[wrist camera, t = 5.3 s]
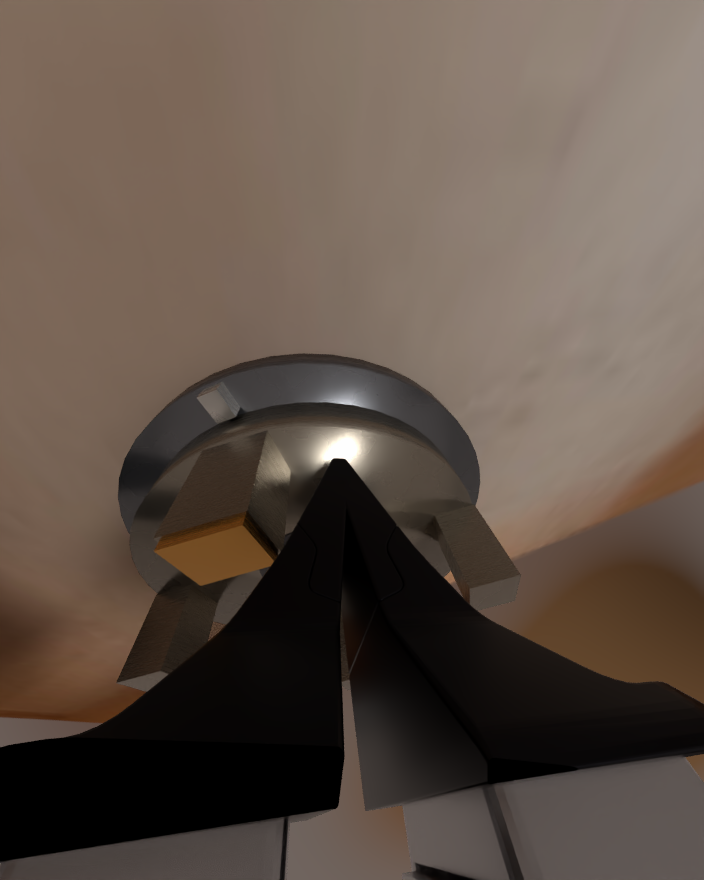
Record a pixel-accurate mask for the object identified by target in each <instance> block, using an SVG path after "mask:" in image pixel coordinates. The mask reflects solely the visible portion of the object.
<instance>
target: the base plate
mask: <svg viewBox="0 0 704 880" xmlns="http://www.w3.org/2000/svg"><path fill="white" fill-rule="evenodd" d="M299 402H330V403H339V404H348V405H355V406H359V407H363V408H367V409H372V410H376V411H379V412H382V413H384V414H387V415H389V416H392V417H395V418H397V419H399V420H401V421H403V422H405V423H407V424H408V425H410V426H412V427H414V428H416V429H417V430H418V431H420V432H421V433H422V434H424V435H425V436H426V437H427V438H429V439H430V440H431V441H432V442H433V443H434V444H435V445H436V446H437V447H438V449H439V450H440V451H441V452H442V453H443V455H444V456H445V458H446V459H447V461H448V462H449V464H450V465H451V467H452V468H453V469H454V471H455V472H456V474H457V475H458V477H459V478H460V480H461V482H462V483H463V485H464V486H465V488H466V490H467V491H468V493H469V496H470V499H471V502H472V505H476V502H477V499H478V493H479V486H480V472H479V464H478V460H477V456H476V452H475V450H474V448H473V445H472V443H471V441H470V439H469V437H468V435H467V434H466V432H465V431H464V430H463V428H462V427H461V425H460V424H459V423H458V421H457V420H456V419H455V418H454V417H453V416H452V414H451V413H450V412H449V411H448V410H447V409H446V408H445V407H444V406H443V405H442V404H441V403H440V402H439V401H438V400H437V399H436V398H435V397H434V396H433V395H432V394H431V393H430V392H429V391H427V390H426V389H424V388H423V387H421V386H420V385H418V384H417V383H415V382H414V381H413V380H411V379H409V378H407V377H405V376H403V375H401V374H399V373H397V372H395V371H393V370H391V369H389V368H386V367H383V366H380V365H376V364H373V363H370V362H367V361H364V360H360V359H354V358H348V357H342V356H337V355H326V354H292V355H281V356H270V357H266V358H262V359H257V360H253V361H249V362H244V363H240V364H238V365H235V366H232V367H230V368H227V369H224V370H222V371H219V372H217V373H214V374H212V375H210V376H208V377H206V378H205V379H203V380H201V381H199V382H198V383H196V384H194V385H192V386H190V387H189V388H187V389H186V390H185V391H184V392H182V393H181V394H180V395H179V396H177V397H176V398H175V399H174V400H172V401H171V402H170V403H169V404H168V405H167V406H166V407H165V408H164V409H163V410H162V411H161V412H160V413H159V414H158V415H157V416H156V417H155V418H154V419H153V420H152V421H151V422H150V423H149V425H148V426H147V427H146V428H145V429H144V430H143V432H142V433H141V434H140V435H139V436H138V437H137V438H136V440H135V442H134V443H133V445H132V447H131V449H130V451H129V452H128V454H127V456H126V458H125V460H124V464H123V467H122V470H121V474H120V477H119V490H118V500H119V505H120V511H121V516H122V518H123V521H124V523H125V526H126V528H127V530H128V532H129V534H130V529H131V526H132V522H133V519H134V516H135V513H136V511H137V510H138V508H139V506H140V505H141V503H142V501H143V500H144V498H145V496H146V495H147V494H148V492H149V491H150V489H151V488H152V486H153V485H154V483H155V482H156V480H157V479H158V478H159V476H160V475H161V473H162V472H163V470H164V469H165V467H166V466H167V465H168V463H169V462H170V461H171V460H172V459H173V457H174V456H175V455H176V454H177V453H178V452H179V451H180V450H181V449H182V448H183V447H184V446H185V445H187V444H188V443H189V442H190V441H192V440H193V439H194V438H196V437H197V436H198V435H199V434H201V433H203V432H204V431H206V430H208V429H210V428H212V427H213V426H215V425H217V424H219V423H221V422H224V421H227V420H229V419H232V418H234V417H236V416H238V415H241V414H243V413H246V412H250V411H254V410H258V409H262V408H266V407H270V406H275V405H283V404H291V403H299Z"/></svg>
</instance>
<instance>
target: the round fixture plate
mask: <svg viewBox="0 0 704 880" xmlns="http://www.w3.org/2000/svg"><path fill="white" fill-rule="evenodd" d="M333 458H345V459H346V460H347V461H348V462H349V464H350V465H351V466H352V467H353V469H354V470H355V471H356V473H357V474H358V475H359V476H360V478H361V479H362V480H363V481H364V483H365V484H366V485H367V487H368V488H369V489H370V490H371V492H372V493H373V494H374V496H375V497H376V498H377V499H378V501H379V502H380V503H381V505H382V506H383V507H384V508H385V510H386V511H387V512H388V514H389V515H390V516H391V517H392V519H393V520H394V521H395V523H396V524H397V526H399V528H400V529H401V530H402V531H403V533H404V534H405V535H406V536H407V538H408V539H409V540H410V541H411V542H412V544H413V545H414V546H415V547H416V548H417V550H418V551H419V552H420V553H421V554H422V555H423V556H424V557H425V558H426V559H427V561H428V562H429V563H430V564H431V565H432V566H433V567H434V568H435V569H436V570H437V571H438V572H439V573H440V574H441V575H442V576H443V577H445V576H446V575H447V574H448V573H449V572H450V570H451V572H452V574H453V576H454V578H455V581H456V583H457V585H458V587H459V590H460V592H461V594H462V596H463V598H464V599H465V600H466V601H467V602H468V603H469V604H470V605H471V606H472V607H473V608H475V609H476V610H477V611H478V610H482V609H486V608H489V607H493V606H497V605H501V604H505V603H509V602H512V601H515V598H516V594H517V590H518V585H519V581H520V577H521V574H520V573H519V571H518V570H517V568H516V567H515V565H514V564H513V562H512V561H511V559H510V558H509V556H508V555H507V553H506V552H505V550H504V549H503V547H502V546H501V544H500V543H499V541H498V540H497V538H496V537H495V535H494V534H493V532H492V531H491V529H490V528H489V526H488V525H487V523H486V521H485V520H484V518H483V517H482V515H481V514H480V512H479V511H478V509H477V508H476V506H475V505H472V502H471V499H470V496H469V493H468V491H467V490H466V488H465V486H464V485H463V483H462V482H461V480H460V478H459V477H458V475H457V474H456V472H455V471H454V469H453V468H452V467H451V465H450V464H449V462H448V461H447V459H446V458H445V456H444V455H443V453H442V452H441V451H440V450H439V449H438V447H437V446H436V445H435V444H434V443H433V442H432V441H431V440H430V439H429V438H427V437H426V436H425V435H424V434H422V433H421V432H420V431H418V430H417V429H416V428H414V427H412V426H410V425H408V424H407V423H405V422H403V421H401V420H399V419H397V418H395V417H392V416H389V415H387V414H384V413H382V412H379V411H376V410H372V409H367V408H363V407H359V406H355V405H348V404H339V403H330V402H299V403H291V404H283V405H275V406H270V407H266V408H262V409H258V410H254V411H250V412H246V413H243V414H241V415H238V416H236V417H234V418H232V419H229V420H227V421H224V422H221V423H219V424H217V425H215V426H213V427H212V428H210V429H208V430H206V431H204V432H203V433H201V434H199V435H198V436H197V437H196V438H194V439H193V440H192V441H190V442H189V443H188V444H187V445H185V446H184V447H183V448H182V449H181V450H180V451H179V452H178V453H177V454H176V455H175V456H174V457H173V459H172V460H171V461H170V462H169V463H168V465H167V466H166V467H165V469H164V470H163V472H162V473H161V475H160V476H159V478H158V479H157V480H156V482H155V483H154V485H153V486H152V488H151V489H150V491H149V492H148V494H147V495H146V496H145V498H144V500H143V501H142V503H141V505H140V506H139V508H138V510H137V511H136V513H135V516H134V519H133V522H132V526H131V529H130V549H131V554H132V559H133V561H134V563H135V565H136V568H137V570H138V572H139V573H140V575H141V576H142V577H143V579H144V580H145V581H146V583H147V584H148V585H149V586H150V587H151V588H152V589H153V590H154V591H155V592H157V593H158V594H157V595H156V597H155V599H154V601H153V603H152V606H151V608H150V610H149V612H148V614H147V617H146V619H145V621H144V623H143V625H142V628H141V630H140V632H139V634H138V636H137V638H136V641H135V643H134V645H133V647H132V649H131V652H130V654H129V656H128V658H127V660H126V663H125V665H124V667H123V669H122V671H121V673H120V676H119V678H118V680H117V682H116V683H118V684H121V685H125V686H128V687H132V688H135V689H139V690H142V691H146V692H147V691H148V690H150V689H151V688H152V687H153V686H155V685H156V684H157V683H158V682H159V681H161V680H162V679H163V678H164V677H166V676H167V675H168V674H169V673H170V672H172V671H173V670H174V669H175V668H176V667H178V666H179V665H180V664H181V663H183V662H184V661H185V660H186V659H187V658H189V657H190V656H191V655H192V654H194V653H195V652H196V651H197V650H198V649H200V648H201V647H202V646H203V645H204V644H206V643H207V642H208V638H209V634H210V631H211V627H212V623H213V621H214V622H217V623H222V624H227V623H228V622H229V621H230V620H231V619H232V617H233V616H234V615H235V614H236V612H237V611H238V610H239V609H240V607H241V606H242V605H243V603H244V602H245V600H246V599H247V598H248V596H249V595H250V594H251V592H252V591H253V590H254V588H255V587H256V585H257V584H258V583H259V581H260V580H261V579H262V577H263V576H264V575H265V573H266V572H267V570H268V569H269V568H270V566H271V565H272V564H273V562H274V561H275V559H276V558H277V556H278V555H279V553H280V552H281V550H282V549H283V547H284V545H285V544H286V542H287V540H288V539H289V537H290V535H291V534H292V532H293V530H294V528H295V526H296V525H297V523H298V521H299V519H300V517H301V515H302V514H303V512H304V510H305V508H306V506H307V504H308V502H309V501H310V499H311V497H312V495H313V493H314V491H315V489H316V488H317V486H318V484H319V482H320V480H321V478H322V477H323V475H324V473H325V471H326V469H327V467H328V465H329V464H330V462H331V460H332V459H333ZM340 643H341V672H342V686H343V687H345V688H346V689H347V690H351V687H350V679H349V676H350V674H349V670H348V662H347V653H346V645H345V637H344V628H343V620H342V611H341V619H340Z"/></svg>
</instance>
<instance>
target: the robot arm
mask: <svg viewBox="0 0 704 880" xmlns="http://www.w3.org/2000/svg"><path fill="white" fill-rule="evenodd" d="M341 611H342V620H343V628H344V637H345V645H346V653H347V662H348V670H349V674H350V676H349V679H350V687H351V696H352V704H353V712H354V721H355V729H356V737H357V746H358V754H359V762H360V770H361V779H362V788H363V795H364V804H365V810H366V811H369V810H375V809H382V808H388V807H395V806H401V805H402V806H403V813H404V819H405V826H406V833H407V840H408V846H409V854H410V860H411V868H412V872H408V873H403V876H402V878H403V879H402V880H704V782H703V781H702V780H701V778H700V777H699V776H698V774H697V773H696V771H695V770H694V769H693V767H692V766H691V765H690V763H689V762H688V761H687V759H686V758H685V757H688V756H694V755H700V754H704V704H703V703H701V702H699V701H698V700H696V699H694V698H692V697H690V696H688V695H687V694H685V693H683V692H681V691H679V690H678V689H676V688H674V687H672V686H670V685H669V684H667V683H664V682H658V681H657V682H643V683H629V682H628V683H627V682H624V681H620V680H615V679H612V678H610V677H607V676H604V675H601V674H599V673H596V672H594V671H592V670H590V669H588V668H585V667H583V666H581V665H579V664H577V663H575V662H573V661H571V660H569V659H567V658H565V657H563V656H561V655H559V654H557V653H555V652H553V651H551V650H549V649H547V648H545V647H543V646H541V645H539V644H537V643H535V642H533V641H531V640H529V639H527V638H525V637H523V636H521V635H519V634H517V633H515V632H513V631H511V630H509V629H507V628H505V627H503V626H501V625H499V624H497V623H495V622H493V621H491V620H490V619H488V618H486V617H485V616H484V615H482V614H481V613H479V612H478V611H477V610H476V609H475V608H473V607H472V606H471V605H470V604H469V603H468V602H467V601H466V600H465V599H464V598H463V597H462V596H461V595H460V594H459V593H458V592H457V591H456V590H455V589H454V588H453V587H452V586H451V585H450V584H449V583H448V581H447V580H446V579H445V578H444V577H443V576H442V575H441V574H440V573H439V572H438V571H437V570H436V569H435V568H434V567H433V566H432V565H431V564H430V563H429V562H428V561H427V559H426V558H425V557H424V556H423V555H422V554H421V553H420V552H419V551H418V550H417V548H416V547H415V546H414V545H413V544H412V542H411V541H410V540H409V539H408V538H407V536H406V535H405V534H404V533H403V531H402V530H401V529H400V528H399V526H397V524H396V523H395V521H394V520H393V519H392V517H391V516H390V515H389V514H388V512H387V511H386V510H385V508H384V507H383V506H382V505H381V503H380V502H379V501H378V499H377V498H376V497H375V496H374V494H373V493H372V492H371V490H370V489H369V488H368V487H367V485H366V484H365V483H364V481H363V480H362V479H361V478H360V476H359V475H358V474H357V473H356V471H355V470H354V469H353V467H352V466H351V465H350V464H349V462H348V461H347V460H346V459H345V458H333V459H332V460H331V462H330V464H329V465H328V467H327V469H326V471H325V473H324V475H323V477H322V478H321V480H320V482H319V484H318V486H317V488H316V489H315V491H314V493H313V495H312V497H311V499H310V501H309V502H308V504H307V506H306V508H305V510H304V512H303V514H302V515H301V517H300V519H299V521H298V523H297V525H296V526H295V528H294V530H293V532H292V534H291V535H290V537H289V539H288V540H287V542H286V544H285V545H284V547H283V549H282V550H281V552H280V553H279V555H278V556H277V558H276V559H275V561H274V562H273V564H272V565H271V566H270V568H269V569H268V570H267V572H266V573H265V575H264V576H263V577H262V579H261V580H260V581H259V583H258V584H257V585H256V587H255V588H254V590H253V591H252V592H251V594H250V595H249V596H248V598H247V599H246V600H245V602H244V603H243V605H242V606H241V607H240V609H239V610H238V611H237V612H236V614H235V615H234V616H233V617H232V619H231V620H230V621H229V622H228V623H227V624H226V625H225V626H224V628H223V629H222V630H221V631H220V632H219V633H217V634H216V635H215V636H214V637H213V638H212V639H211V640H209V641H208V642H207V643H206V644H204V645H203V646H202V647H201V648H200V649H198V650H197V651H196V652H195V653H194V654H192V655H191V656H190V657H189V658H187V659H186V660H185V661H184V662H183V663H181V664H180V665H179V666H178V667H176V668H175V669H174V670H173V671H172V672H170V673H169V674H168V675H167V676H166V677H164V678H163V679H162V680H161V681H159V682H158V683H157V684H156V685H155V686H153V687H152V688H151V689H150V690H148V691H147V692H146V693H145V694H144V695H142V696H141V697H140V698H139V699H138V700H136V701H135V702H134V703H133V704H131V705H130V706H129V707H127V708H126V709H125V710H123V711H122V712H121V713H119V714H118V715H116V716H115V717H113V718H111V719H110V720H108V721H106V722H104V723H103V724H101V725H99V726H97V727H95V728H92V729H90V730H88V731H85V732H83V733H80V734H77V735H73V736H69V737H64V738H56V739H45V740H38V741H32V742H26V743H20V744H13V745H8V746H4V747H0V863H1V864H0V880H286V877H287V860H288V843H289V827H290V823H292V822H298V821H304V820H308V819H311V818H313V817H316V816H318V815H321V814H323V813H326V812H328V811H331V810H333V809H336V808H337V807H338V804H339V796H340V788H341V780H342V770H343V764H344V731H343V702H342V672H341V643H340V619H341Z"/></svg>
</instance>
